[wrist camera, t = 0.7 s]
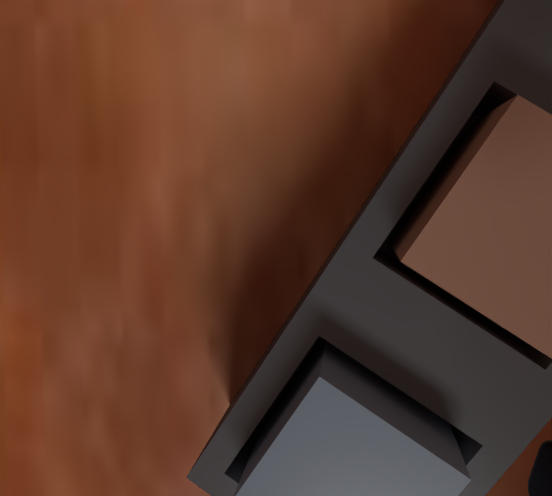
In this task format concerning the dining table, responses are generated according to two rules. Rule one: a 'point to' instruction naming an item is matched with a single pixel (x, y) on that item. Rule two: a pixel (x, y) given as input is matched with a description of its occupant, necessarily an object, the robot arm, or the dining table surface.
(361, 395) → the slate blue button
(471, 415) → the button board
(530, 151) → the terracotta button
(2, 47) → the dining table surface
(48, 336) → the dining table surface
